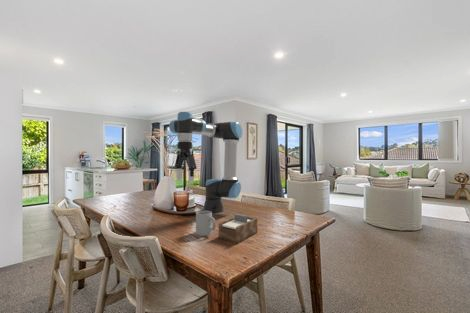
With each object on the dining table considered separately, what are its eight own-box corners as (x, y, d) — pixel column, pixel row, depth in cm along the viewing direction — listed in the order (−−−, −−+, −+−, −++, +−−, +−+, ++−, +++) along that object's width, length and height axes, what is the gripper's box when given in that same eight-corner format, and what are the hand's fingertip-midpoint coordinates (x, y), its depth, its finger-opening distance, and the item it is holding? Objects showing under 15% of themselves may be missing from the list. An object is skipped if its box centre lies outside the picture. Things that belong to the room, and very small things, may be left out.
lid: (239, 218, 126) (239, 211, 126) (252, 221, 121) (253, 214, 121) (222, 226, 113) (222, 218, 113) (236, 229, 108) (236, 221, 108)
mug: (192, 233, 120) (192, 212, 120) (203, 229, 127) (203, 209, 127) (209, 238, 113) (209, 216, 113) (220, 233, 120) (220, 213, 120)
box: (238, 228, 129) (238, 215, 129) (257, 232, 122) (257, 218, 122) (218, 238, 114) (218, 223, 114) (238, 243, 107) (238, 227, 107)
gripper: (168, 142, 128) (168, 179, 129) (189, 140, 109) (189, 184, 109) (181, 142, 133) (181, 178, 133) (203, 140, 114) (203, 183, 114)
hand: (185, 181), depth 121 cm, fingers open, 13 cm apart
